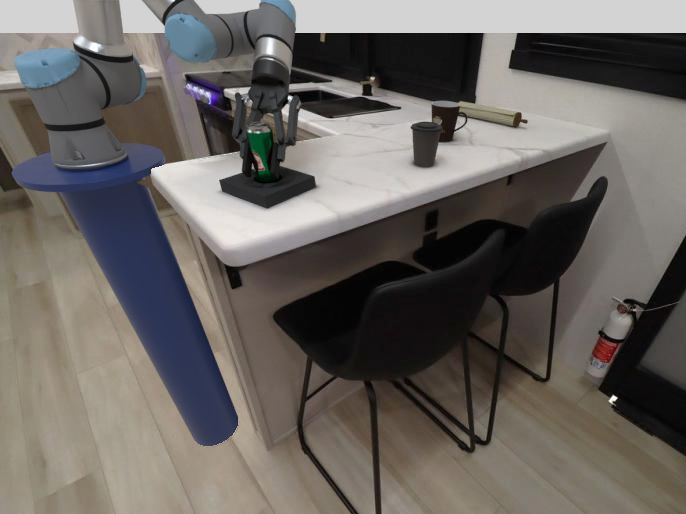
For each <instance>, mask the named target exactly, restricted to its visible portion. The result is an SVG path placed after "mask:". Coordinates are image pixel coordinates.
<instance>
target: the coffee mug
mask: <svg viewBox="0 0 686 514" xmlns="http://www.w3.org/2000/svg"><path fill="white" fill-rule="evenodd" d="M430 104H431V122H433V123H437V124H439V125H441V126H442V128H443V130H442V131H441V133H440V138H439V143H449V142H453V140H454V136H455V133H456V132H458V131H459V130H462V129H463V128H464V127H465V126H466V125H467V123H468V116H467V115H466V114H465V113H464V112H459V109H460V104H459V103H457V102H455V101H449V100H435V101H432V102H431V103H430ZM459 114H463V115H462V116H464V119H465V120H464V123H463V124H462V125H461V126H459V127H458V128H456V127H457V123H458V117H459V116H460V115H459Z"/></svg>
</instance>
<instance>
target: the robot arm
mask: <svg viewBox="0 0 686 514" xmlns="http://www.w3.org/2000/svg"><path fill="white" fill-rule="evenodd" d="M141 1H142V3H143V4H144V5H145V6H146V7H147V8H148V9H149V11H151V12H152V14H153V15H154V16H155V17H156V19H158V21H159V22H160V23H161V24H162V25H163V26H164V36H165V39H166V41H167V43H168V46H169V48H170V50H171V52H173V54H174V55H175V56H176V57H178V59H180V60H182V61H184V62H187V63H191V64H193V63H194V64H196V63H197V64H198V63H201V64H205V63H209V62H210V61H214V60H215V61H216V60H221V59H228V58H236V57H240V56H246V55H252V54H253V61H252V62H253V64H252V71H251V80H250V87H249V89H248V92H246V93H243V94H241V93H240V92H239V91H238V92H235V93H234V99H235V110H234V116H233V122H232V123H233V124H232V131H231V137H232V138H233V139H234V140H235V142H237V144H240V147H239V157H240V158H241V160H242V165H241V173H242V172H243V173H244V174H245V175H246V177H251V171H252V169H253V163H252V158H251V154H250V149H249V144H248V139H247V135H246V129H247V124H249V123H253V122H262V120H263V119H264V117H265V115H267V114H270V115H273V116H272V117H273V122H274V127H275V132H276V138H275V139H276V141H277V142H275V141H274V142H273V151H272V160H271V170H270V173H271V175H272V176H273V177H274V178H275V179H278V178H279V169H280V166H281V163H284V162H285V161H286V153H287V148H288V147H295V146H296V145H297V136H298V135H297V134H298V125H299V113H300V111H301V108H302V107H303V104H302V101H301V99H300V97H299V96H298V95H296V94H295V95H293V96H292V95H290V93H289V91H290V84H291V73H292V65H293V64H292V63H293V50H294V44H295V43H294V42H295V36H296V31H297V23H296V22H297V13H296V12H297V11H296V8H295V6H294V4H292V2H291V0H260V3H258V8H255V9H250V10H247V11H238V12H232V13H206V12H205V11H204V10H203V9H202V8H201V7H200V5H199V4H198V3H197V2H196V1H195V0H141ZM72 2H73V7H74V13H75V18H76V25H77V28H78V32H77V33H76V34H75V35H74V36H73V37H72V38H71V40H72V46H73V49H71V48H66V47H51V48H45V49H36V50H35V49H34V50H31V51H27V52H24V53H21V54H19V55H17V56H16V57H15V59H14V64H13V65H14V67H15V70H16V72H17V74H18V78H19V81H20V83H21V85H23V87H24V88H25V91H26V92H27V95H28V97H29V98H30V100H31V102H32V104H33V106H34V108H35V109H36V112H37V114H38V115H39V118H40V120H41V122H42V123H43V125H44V127H45V129H46V132H47V134H48V141H49V151H50V152H51V157H52V160H53V163H54V165H55V167H56V168H57V169H59V170H63V171H71V172H81V171H93V170H99V169H105V168H109V167H113V166H116V165H119V164H121V163H123V162H125V161H126V160H127V159H128V155H127V152H126V150H125V149H124V147H123V146H122V145H121V143H122V142H120V141H119V140H118V138H117V136H116V135H115V134H114V133H113V131H112V130H111V129H110V128H109V127H108V125H107V123H106V121H105V119H104V116H103V113H102V111H103V110H107V109H111V108H114V107H115V108H116V107H118V106H123V105H124V106H125V105H129V104H132V103H134V102H136V101H138V100H140V99H141V98H142V97H143V96H144V94H145V93H146V90H147V76H146V73H145V70H144V68H143V67H141V63H140V61H139V60H138V59H137V58H136V57H135V56H134V52H133V49H132V48H131V47H130V46H129V45H128V44H127V43H126V42H125V35H124V28H123V19H122V12H121V4H120V0H72ZM250 101H251V105H250V112H249V115H248V117H247V114H248V107H249V103H250ZM287 105H288V114H287V115H288V117H287V128H286V130H285V126H284V125H285V124H284V116H283V109H285V107H286V106H287ZM285 131H286V132H285Z"/></svg>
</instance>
